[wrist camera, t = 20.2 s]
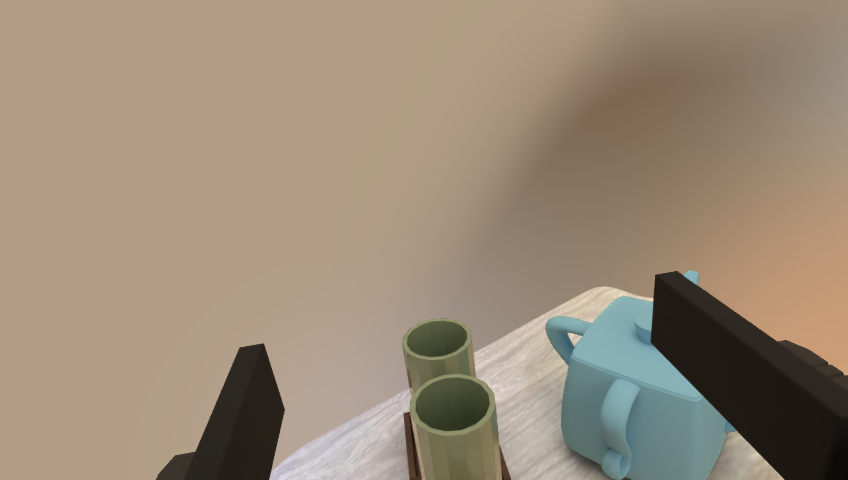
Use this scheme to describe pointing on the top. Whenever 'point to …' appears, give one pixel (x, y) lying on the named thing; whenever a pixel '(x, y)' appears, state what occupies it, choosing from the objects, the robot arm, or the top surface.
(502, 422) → the top surface
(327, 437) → the top surface
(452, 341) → the cup
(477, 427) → the cup
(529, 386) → the top surface
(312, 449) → the top surface
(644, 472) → the teapot
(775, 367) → the robot arm
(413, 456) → the cup rack
